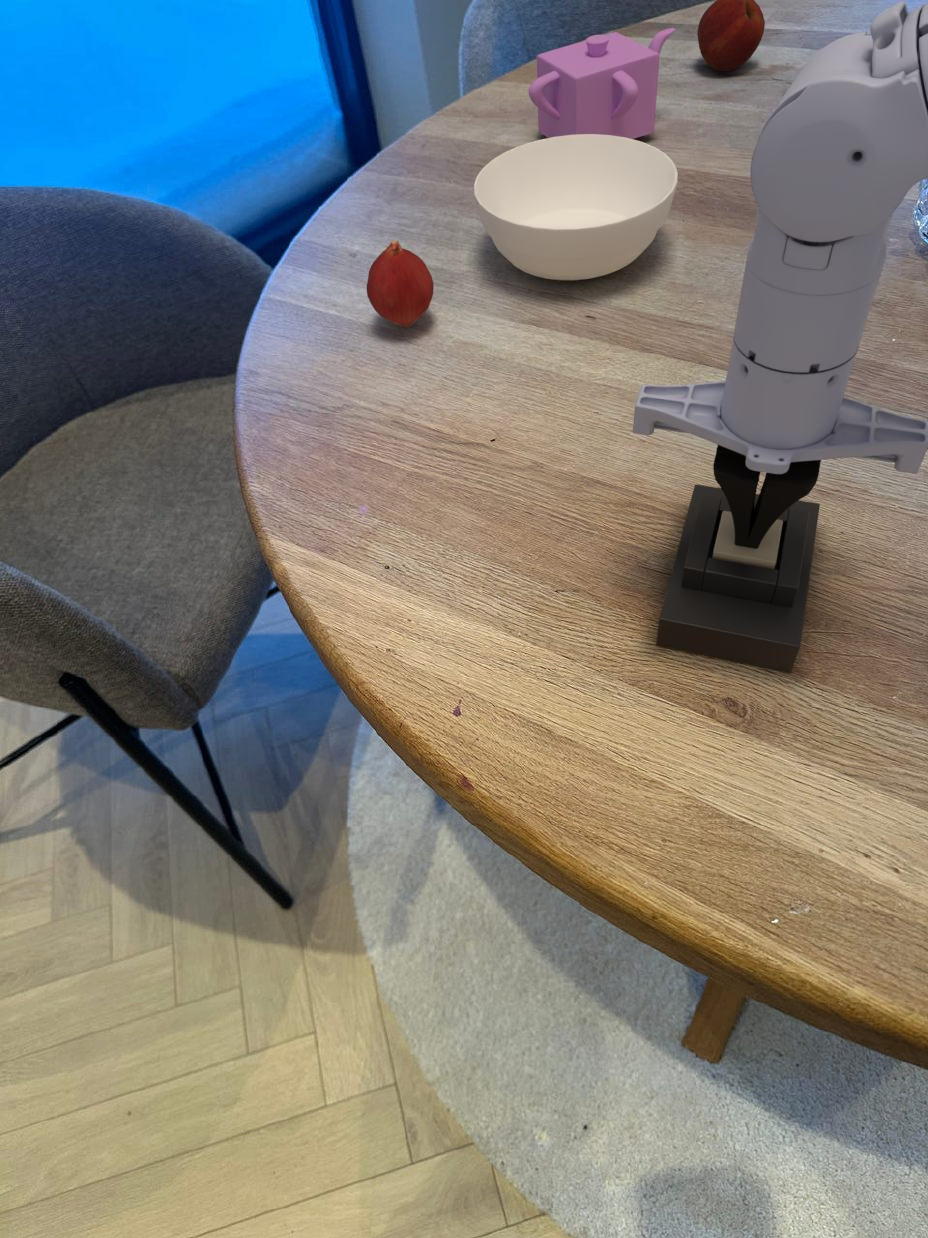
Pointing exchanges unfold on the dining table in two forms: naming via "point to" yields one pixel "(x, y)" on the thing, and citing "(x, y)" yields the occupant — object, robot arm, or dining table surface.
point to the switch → (745, 555)
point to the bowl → (575, 203)
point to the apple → (730, 33)
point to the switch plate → (738, 590)
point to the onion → (399, 285)
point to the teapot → (598, 87)
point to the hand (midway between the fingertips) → (748, 535)
